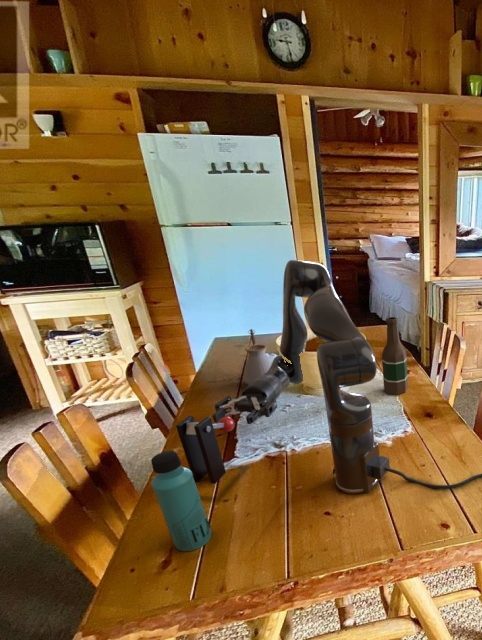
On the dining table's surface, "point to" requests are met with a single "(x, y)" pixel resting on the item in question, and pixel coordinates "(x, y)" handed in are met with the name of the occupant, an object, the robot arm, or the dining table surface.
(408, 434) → the dining table surface
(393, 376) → the beer bottle
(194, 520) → the beverage bottle
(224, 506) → the dining table surface
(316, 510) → the dining table surface
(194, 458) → the tap bracket
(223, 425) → the tap lever
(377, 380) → the dining table surface
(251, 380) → the coffee pot
